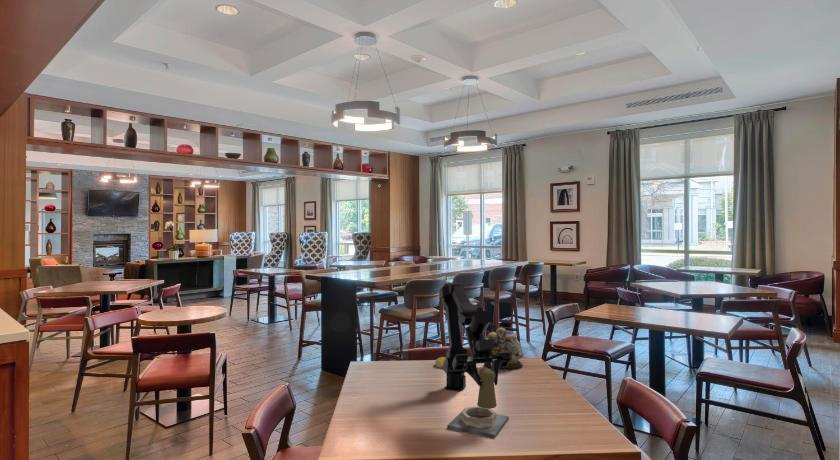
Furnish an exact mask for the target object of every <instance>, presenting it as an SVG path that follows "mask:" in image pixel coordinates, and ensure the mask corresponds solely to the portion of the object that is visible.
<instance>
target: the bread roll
mask: <svg viewBox="0 0 840 460" xmlns="http://www.w3.org/2000/svg"><path fill="white" fill-rule="evenodd" d="M445 359H446V356H445V357H444V356H440V357H438V358H436V359H435V361H434V363H435V367H436V368H439V369H443V364H444V361H445Z"/></svg>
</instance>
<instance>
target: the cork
mask: <svg viewBox="0 0 840 460" xmlns="http://www.w3.org/2000/svg"><path fill="white" fill-rule="evenodd" d="M478 374H479V377H480V381H481V387H479V389H478V396H477V405H476V406H479V407H481V408H487V409H494V408H496V407H497V397H496V396H497V395H496V389H495V383H494V380H495V372H494V371H493V370H490V368H484V369H481V370H479V372H478Z"/></svg>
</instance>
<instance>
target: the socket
mask: <svg viewBox="0 0 840 460" xmlns="http://www.w3.org/2000/svg"><path fill="white" fill-rule="evenodd" d="M509 420H510V416H509V415H503V414H498V413H497V412H496V411H494V410H493V408H490V409H487V408H481V407H479V406H478V405H476V406H469V407H465V408H464V409H462V410H461V411H460V412H459V414H457V415H456V416H455V417H454V418H453V419H452V420H451V421H450V422H449V423H448V424H447V426H446V427H447V429H449V430H453V431H459V432H463V433H469V434H473V435H477V436H483V437H488V438H493V439H495V438H497V436H498V435H499V433H500V432H501V430H503V428H504V427H505V425H506V424H507V423H508V421H509Z"/></svg>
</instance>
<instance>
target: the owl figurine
mask: <svg viewBox="0 0 840 460" xmlns="http://www.w3.org/2000/svg"><path fill="white" fill-rule="evenodd" d="M492 337H497V339H498V342H499V346H498V347H497V348H494V350H492V354H490V357H491V356H496V355H497V353H498V352H506V351H508V352H509V353H510V354H511V356H512V359H511V361H510V363H509V364H508V366H507V367H500V368H499V370H500V371H503V370H504V371H506V370H507V371H511V370H512V371H513V370H519V369H520V368H523V363H522V362H521V361H520V359H522V358H523V357H524V354H522V353H520V352H521V343H520V341H519V340H518V339H517V336H516V335H515V334H510V335H508V336H507V330H506V328H505V327H498V328H497V329H496V330H495V331H491V332H489V333H488V335H487V338H486V339H490V338H492ZM483 365H484V366H485V367H486V368H487V367H488V368H487V369H490V368H491V363H483Z"/></svg>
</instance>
